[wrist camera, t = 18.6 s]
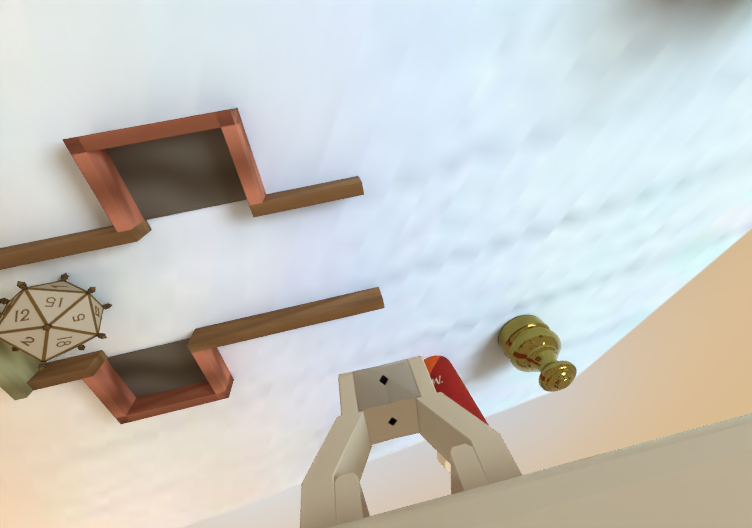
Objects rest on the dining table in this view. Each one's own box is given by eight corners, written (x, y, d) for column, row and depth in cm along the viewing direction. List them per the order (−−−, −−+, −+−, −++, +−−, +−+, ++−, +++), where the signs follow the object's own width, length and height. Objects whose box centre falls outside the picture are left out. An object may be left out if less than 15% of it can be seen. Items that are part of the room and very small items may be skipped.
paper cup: (411, 352, 47) (445, 441, 35) (461, 348, 48) (510, 433, 36) (407, 390, 51) (436, 483, 38) (452, 385, 52) (495, 474, 40)
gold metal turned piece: (516, 358, 52) (557, 411, 43) (487, 339, 49) (525, 392, 40) (551, 326, 50) (602, 376, 41) (523, 305, 47) (572, 353, 38)
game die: (113, 291, 39) (98, 377, 35) (10, 284, 34) (-22, 384, 30) (121, 260, 33) (104, 358, 29) (-2, 245, 28) (-44, 363, 24)
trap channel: (-141, 176, 27) (-209, 188, 24) (342, 89, 30) (345, 88, 27) (82, 416, 42) (62, 445, 39) (388, 342, 45) (395, 362, 42)
